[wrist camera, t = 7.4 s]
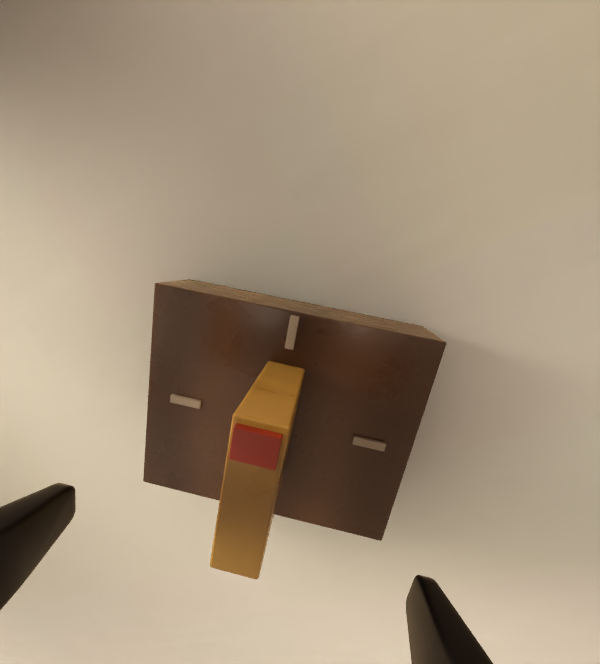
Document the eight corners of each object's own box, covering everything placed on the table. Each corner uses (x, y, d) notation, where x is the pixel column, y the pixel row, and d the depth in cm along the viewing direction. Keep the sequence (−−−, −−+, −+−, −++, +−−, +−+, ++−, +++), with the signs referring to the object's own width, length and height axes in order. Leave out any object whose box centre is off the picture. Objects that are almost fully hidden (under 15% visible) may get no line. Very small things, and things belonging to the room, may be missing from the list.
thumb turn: (282, 477, 13) (255, 589, 9) (249, 469, 13) (205, 575, 9) (305, 368, 12) (289, 433, 7) (268, 360, 12) (228, 419, 7)
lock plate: (174, 445, 17) (140, 484, 14) (189, 279, 15) (152, 283, 12) (373, 492, 16) (382, 544, 13) (423, 326, 14) (448, 343, 11)
